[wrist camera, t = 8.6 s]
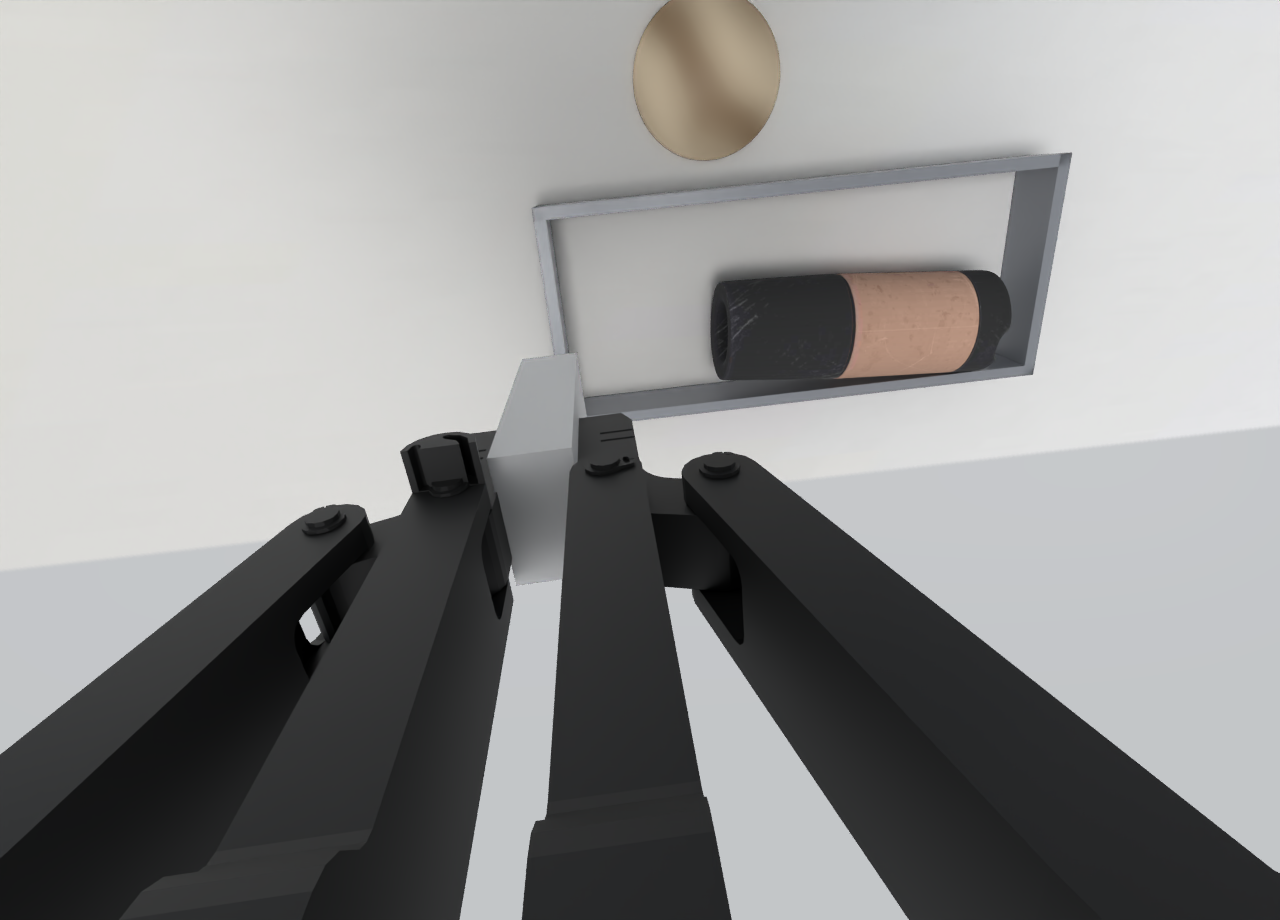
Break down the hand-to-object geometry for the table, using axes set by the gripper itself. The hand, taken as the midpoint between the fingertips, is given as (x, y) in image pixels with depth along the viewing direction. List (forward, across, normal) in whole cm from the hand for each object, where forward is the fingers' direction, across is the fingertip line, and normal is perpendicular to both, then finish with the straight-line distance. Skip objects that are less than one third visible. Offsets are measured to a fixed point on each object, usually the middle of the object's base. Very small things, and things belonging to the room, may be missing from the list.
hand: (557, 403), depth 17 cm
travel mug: (+28, +10, -6) cm, 30 cm away
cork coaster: (+32, +11, +11) cm, 36 cm away
